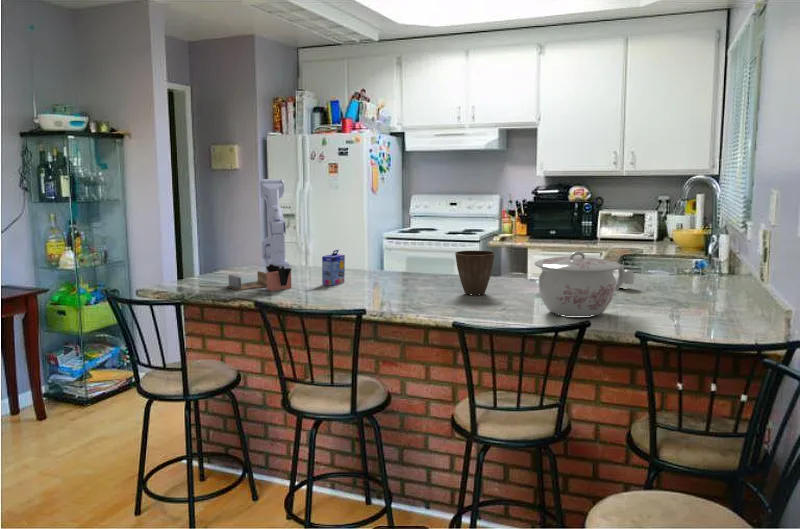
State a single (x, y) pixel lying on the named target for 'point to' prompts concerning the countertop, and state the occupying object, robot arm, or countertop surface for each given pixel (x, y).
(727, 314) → the countertop surface
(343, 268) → the ink cartridge box
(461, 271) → the plant pot
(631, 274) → the white plastic bottle
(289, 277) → the pink rectangular pillar
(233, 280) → the gray rectangular bar
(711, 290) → the countertop surface
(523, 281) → the countertop surface
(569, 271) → the chamber pot
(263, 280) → the shelf
